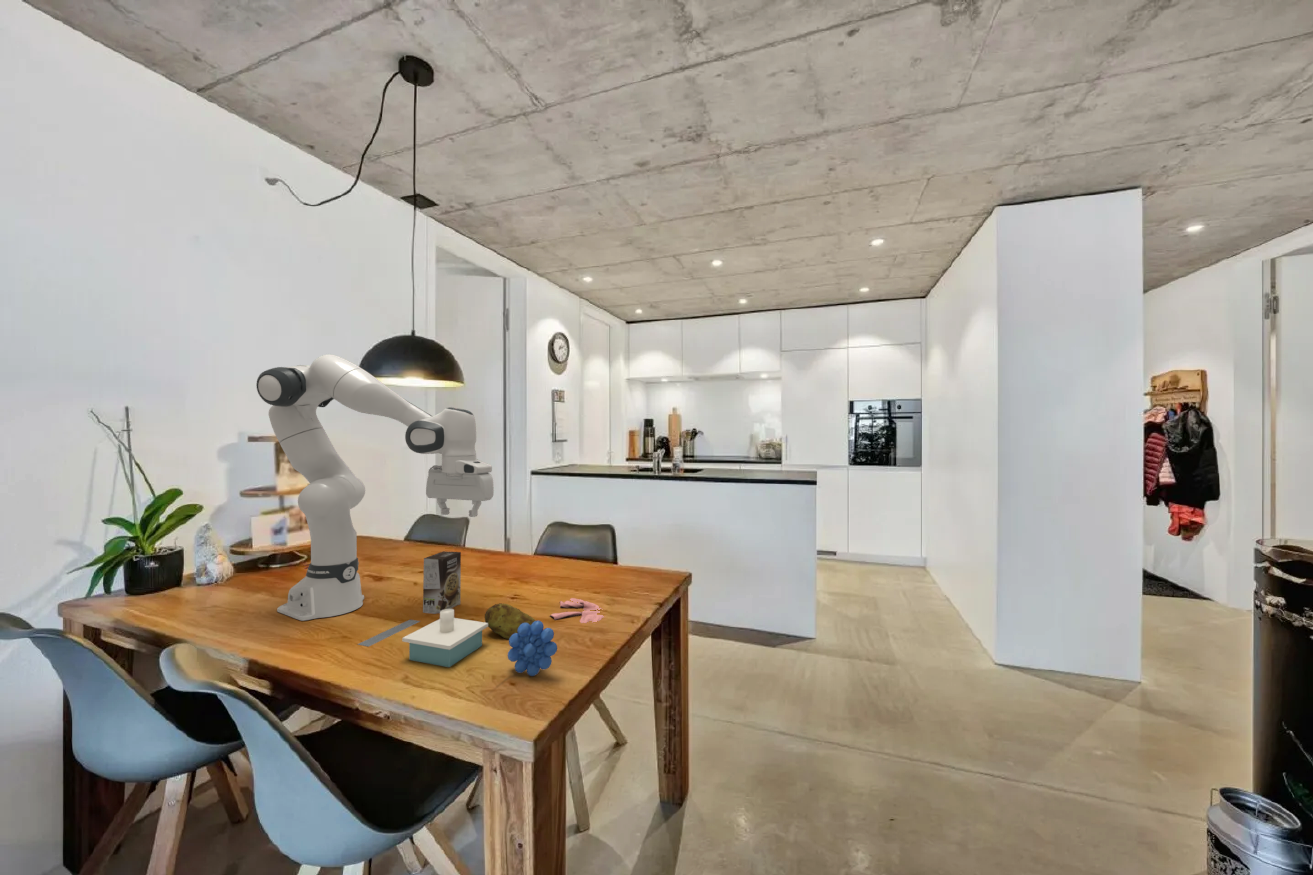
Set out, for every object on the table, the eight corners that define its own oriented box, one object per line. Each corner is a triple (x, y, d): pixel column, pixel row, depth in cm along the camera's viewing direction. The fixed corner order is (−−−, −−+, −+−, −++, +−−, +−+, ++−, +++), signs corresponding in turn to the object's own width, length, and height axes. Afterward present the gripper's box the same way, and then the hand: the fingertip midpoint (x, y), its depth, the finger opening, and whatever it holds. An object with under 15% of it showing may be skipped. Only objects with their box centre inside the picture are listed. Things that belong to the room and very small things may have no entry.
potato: (519, 647, 113) (519, 615, 113) (478, 638, 118) (479, 607, 118) (541, 634, 120) (541, 603, 120) (501, 626, 125) (502, 596, 125)
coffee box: (441, 615, 132) (442, 559, 132) (422, 613, 133) (422, 557, 133) (461, 604, 141) (461, 551, 141) (442, 602, 142) (443, 550, 142)
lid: (402, 641, 104) (402, 617, 104) (444, 619, 117) (444, 598, 117) (449, 649, 101) (449, 625, 101) (488, 626, 113) (488, 604, 113)
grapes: (565, 669, 102) (566, 615, 102) (551, 685, 96) (551, 627, 96) (518, 662, 105) (519, 609, 105) (501, 677, 99) (501, 621, 99)
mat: (357, 645, 113) (357, 644, 113) (409, 620, 128) (409, 619, 128) (409, 655, 108) (409, 653, 108) (457, 628, 124) (457, 626, 124)
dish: (409, 662, 105) (409, 640, 105) (444, 641, 116) (444, 621, 116) (449, 669, 102) (449, 647, 102) (482, 647, 112) (482, 627, 112)
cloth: (604, 628, 126) (604, 619, 126) (524, 626, 127) (525, 617, 127) (613, 601, 147) (613, 593, 147) (544, 599, 147) (545, 592, 147)
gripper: (420, 465, 129) (420, 515, 129) (482, 467, 123) (482, 519, 123) (437, 464, 135) (437, 511, 135) (497, 466, 129) (496, 515, 129)
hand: (459, 515), depth 129 cm, fingers open, 8 cm apart
